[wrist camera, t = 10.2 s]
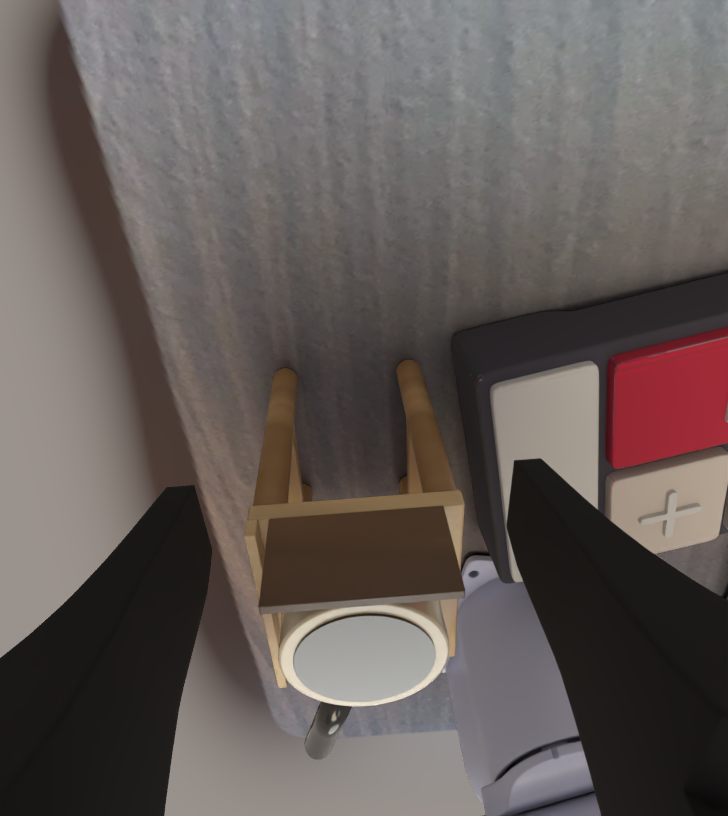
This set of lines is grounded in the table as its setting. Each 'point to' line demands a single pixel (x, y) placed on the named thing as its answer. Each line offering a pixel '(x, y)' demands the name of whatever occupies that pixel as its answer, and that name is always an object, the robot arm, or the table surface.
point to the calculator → (605, 412)
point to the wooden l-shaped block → (356, 556)
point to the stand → (281, 455)
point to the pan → (360, 659)
